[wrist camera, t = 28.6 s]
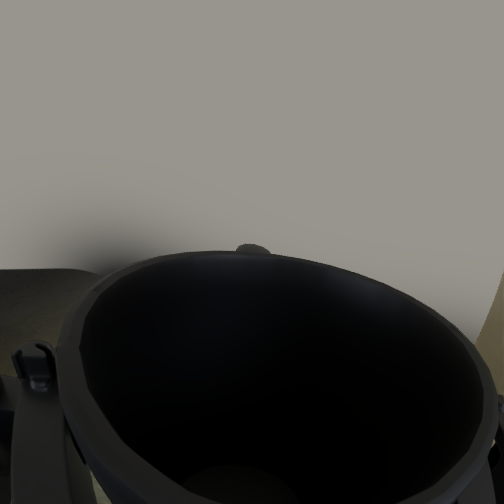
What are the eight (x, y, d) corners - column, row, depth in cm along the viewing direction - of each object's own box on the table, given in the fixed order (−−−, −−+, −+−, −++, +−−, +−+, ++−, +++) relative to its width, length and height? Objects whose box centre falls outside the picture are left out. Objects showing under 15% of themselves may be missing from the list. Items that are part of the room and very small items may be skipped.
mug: (303, 393, 16) (349, 239, 13) (353, 578, 4) (563, 429, 2) (163, 381, 15) (169, 214, 12) (120, 577, 3) (-58, 449, 1)
